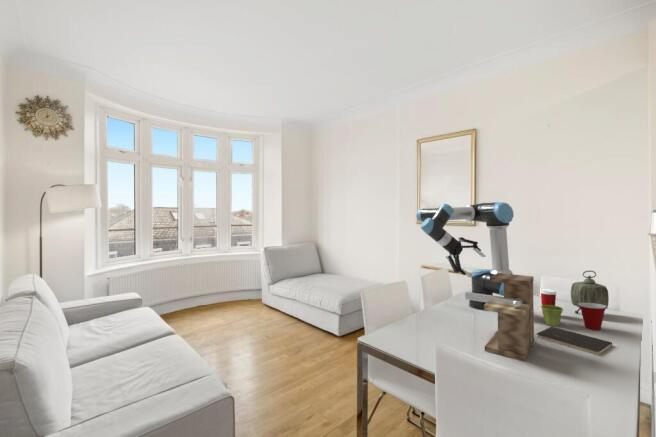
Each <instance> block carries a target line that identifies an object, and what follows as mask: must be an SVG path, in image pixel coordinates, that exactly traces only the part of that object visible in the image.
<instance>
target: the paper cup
mask: <svg viewBox="0 0 656 437" xmlns="http://www.w3.org/2000/svg"><path fill="white" fill-rule="evenodd" d="M539 293H540V300H541V301H540V302H541V306H542V305H553V306H556V303H557V302H556V300H557V298H556V297H557V292H556V290H554V289H552V288H551V289H550V288H542V289H540V290H539ZM541 311H542V312H541V313H542V315H543V316H544V314H543V310H542V309H541Z"/></svg>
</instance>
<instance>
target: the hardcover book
mask: <svg viewBox="0 0 656 437" xmlns="http://www.w3.org/2000/svg"><path fill="white" fill-rule="evenodd" d="M536 335H537V336H536V337H537V338H539V339H542V340H546V341H549V342H552V343H556V344H558V345H563V346H566V347H569V348H572V349H576V350H580V351H582V352H585V353H589V354H592V355H596V356H599V355H600V354H602V353H603V352H605V351H606V350H607V349H609V348H611V347H613V342H612V341H609V340H606V339H601V338H597V337H594V336H591V335H590V336H589V335H586V334H582V333H578V332H574V331H570V330H567V329H563V328H559V327H557V326H551V325H550V326H549V327H547V328H545V329H544V330H543V329H542V330H541V331H539V332H536Z"/></svg>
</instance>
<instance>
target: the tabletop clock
mask: <svg viewBox="0 0 656 437" xmlns="http://www.w3.org/2000/svg"><path fill="white" fill-rule="evenodd" d="M590 272H591V273H594V275H593V276H592V275H590V274H589V275H588V276H585V273H590ZM582 276H583V278H585V279H584V280H583V281H576V282H573V283H572V284H571V288H570V299H571V303H572V305H573V306H574V307H577V308H578V309H577V310H574V313H575V314H579V311H581V308H580V306H579V305H578V304H579V303H595V304H601V305H605V306H607V307H606V308H605V310H606V309H608V307H609V301H610V300H609V296H610V295H609V291H608V288H607V286H606V285H602V284H601V283H596V281H595V280H594V279H593V278H595V277H597V273H596V271H594V270H585V271H584V272H583V273H582Z"/></svg>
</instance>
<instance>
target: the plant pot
mask: <svg viewBox="0 0 656 437" xmlns="http://www.w3.org/2000/svg"><path fill="white" fill-rule="evenodd" d="M540 308H541V311H542V310H543V313H542V315H543V314H544V315H543V318H544V320H543V321H544V323H545V325H548V326H549V325H550V327H551V326H552V327H558V326H560V323H561V317H562V313H563V311H564V308H562V307H561V306H558V305H557V306H556V305H555V306H553V305H542V304H541V306H540Z"/></svg>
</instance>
